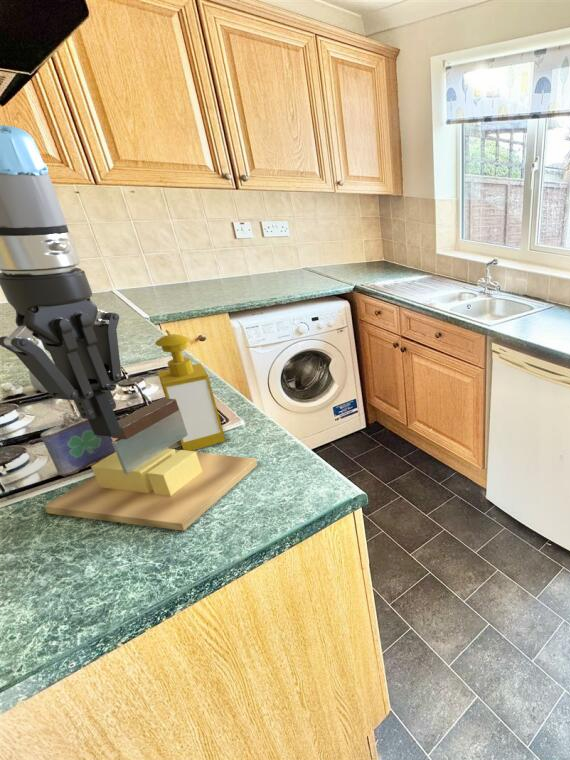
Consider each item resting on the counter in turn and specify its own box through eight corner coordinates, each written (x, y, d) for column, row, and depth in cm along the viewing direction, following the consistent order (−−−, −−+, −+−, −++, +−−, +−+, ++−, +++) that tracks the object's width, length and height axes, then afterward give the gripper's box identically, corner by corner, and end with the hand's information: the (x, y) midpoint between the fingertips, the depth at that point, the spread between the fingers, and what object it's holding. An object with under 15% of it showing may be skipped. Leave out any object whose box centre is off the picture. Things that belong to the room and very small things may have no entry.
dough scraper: (118, 473, 67) (100, 429, 64) (180, 434, 78) (167, 395, 75) (133, 474, 67) (115, 431, 64) (192, 435, 78) (180, 396, 74)
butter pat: (154, 494, 72) (146, 472, 70) (187, 469, 78) (180, 449, 76) (170, 496, 72) (163, 474, 70) (202, 471, 78) (196, 451, 76)
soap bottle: (212, 417, 98) (185, 320, 88) (225, 441, 90) (197, 336, 80) (174, 427, 94) (141, 326, 84) (184, 452, 85) (149, 343, 75)
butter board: (47, 513, 69) (43, 506, 68) (145, 452, 85) (143, 445, 84) (184, 531, 67) (181, 523, 66) (257, 465, 83) (256, 458, 83)
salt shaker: (69, 382, 110) (49, 335, 104) (67, 390, 106) (46, 342, 100) (37, 387, 106) (14, 339, 101) (33, 396, 102) (10, 346, 97)
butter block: (100, 487, 73) (90, 466, 71) (137, 463, 79) (129, 443, 77) (148, 493, 72) (139, 472, 70) (181, 469, 78) (174, 449, 76)
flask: (65, 478, 76) (41, 427, 72) (54, 474, 77) (29, 424, 73) (120, 451, 85) (102, 404, 80) (110, 448, 85) (90, 402, 81)
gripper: (5, 281, 45) (86, 461, 55) (119, 263, 57) (169, 414, 67) (-58, 276, 46) (34, 456, 56) (68, 259, 57) (125, 410, 67)
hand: (108, 433), depth 61 cm, fingers closed
